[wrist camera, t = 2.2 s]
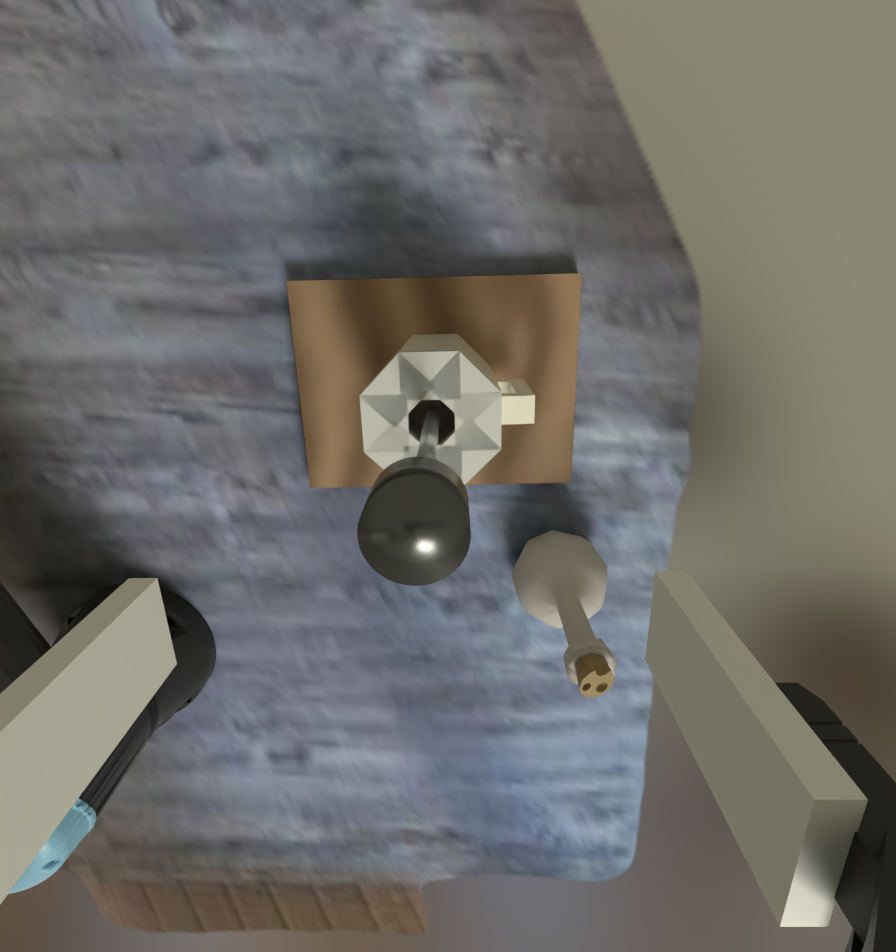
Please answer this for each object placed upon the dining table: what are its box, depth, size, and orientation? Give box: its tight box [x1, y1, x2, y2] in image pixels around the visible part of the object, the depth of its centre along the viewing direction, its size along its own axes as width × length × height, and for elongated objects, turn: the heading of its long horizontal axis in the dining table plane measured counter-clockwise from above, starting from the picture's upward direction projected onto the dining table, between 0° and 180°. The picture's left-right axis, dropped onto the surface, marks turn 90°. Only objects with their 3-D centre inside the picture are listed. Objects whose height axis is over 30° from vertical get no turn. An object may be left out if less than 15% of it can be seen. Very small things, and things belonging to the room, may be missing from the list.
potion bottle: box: [512, 530, 617, 698], centre depth 46 cm, size 9×9×18 cm
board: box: [286, 273, 582, 488], centre depth 48 cm, size 24×18×2 cm
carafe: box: [359, 334, 535, 485], centre depth 41 cm, size 12×9×13 cm
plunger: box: [357, 405, 471, 586], centre depth 29 cm, size 4×4×20 cm
